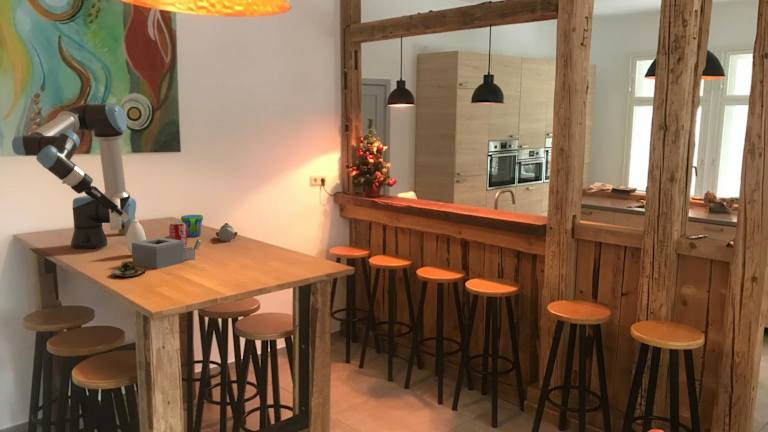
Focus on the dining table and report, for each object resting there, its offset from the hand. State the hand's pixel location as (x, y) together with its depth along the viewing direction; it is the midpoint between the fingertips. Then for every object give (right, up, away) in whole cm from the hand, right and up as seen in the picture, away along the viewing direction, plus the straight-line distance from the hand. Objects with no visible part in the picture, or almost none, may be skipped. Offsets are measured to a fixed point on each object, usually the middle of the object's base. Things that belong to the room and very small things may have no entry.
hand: (125, 218), depth 239 cm
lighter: (+21, -17, +17) cm, 32 cm away
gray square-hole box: (+10, -18, +8) cm, 23 cm away
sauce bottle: (-4, -16, +22) cm, 27 cm away
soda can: (+11, -15, +31) cm, 36 cm away
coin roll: (-3, -4, -2) cm, 5 cm away
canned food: (-28, -8, +68) cm, 74 cm away
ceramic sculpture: (+25, -11, +58) cm, 64 cm away
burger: (+5, -22, -10) cm, 24 cm away
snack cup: (+6, -9, +66) cm, 66 cm away
